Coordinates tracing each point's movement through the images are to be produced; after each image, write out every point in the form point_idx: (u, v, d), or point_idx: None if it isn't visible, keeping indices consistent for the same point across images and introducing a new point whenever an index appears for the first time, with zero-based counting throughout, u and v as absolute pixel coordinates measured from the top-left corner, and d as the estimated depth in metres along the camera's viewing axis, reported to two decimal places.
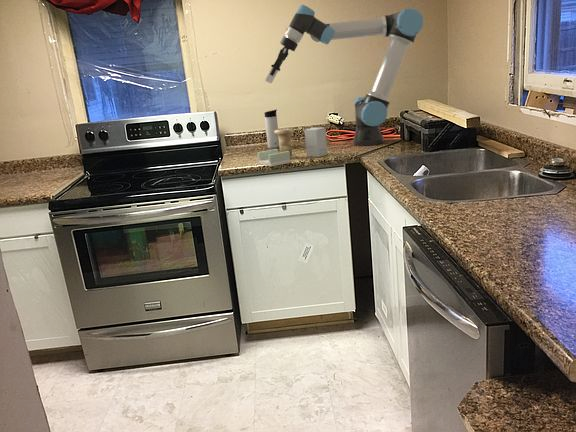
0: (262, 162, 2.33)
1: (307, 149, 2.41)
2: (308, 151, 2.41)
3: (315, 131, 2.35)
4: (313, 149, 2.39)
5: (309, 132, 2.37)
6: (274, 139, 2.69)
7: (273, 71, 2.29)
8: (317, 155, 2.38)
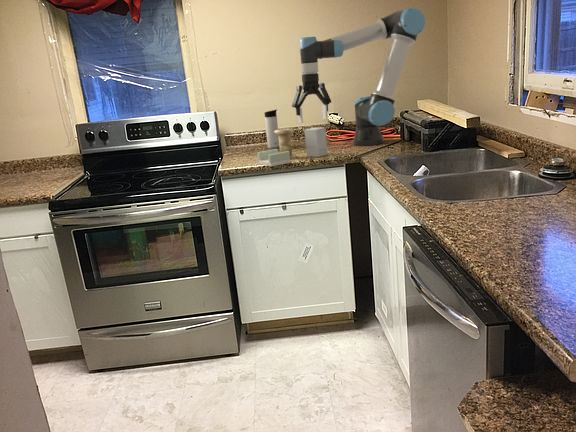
0: (262, 162, 2.33)
1: (307, 149, 2.41)
2: (308, 151, 2.41)
3: (315, 131, 2.35)
4: (313, 149, 2.39)
5: (309, 132, 2.37)
6: (274, 139, 2.69)
7: (296, 111, 2.33)
8: (317, 155, 2.38)
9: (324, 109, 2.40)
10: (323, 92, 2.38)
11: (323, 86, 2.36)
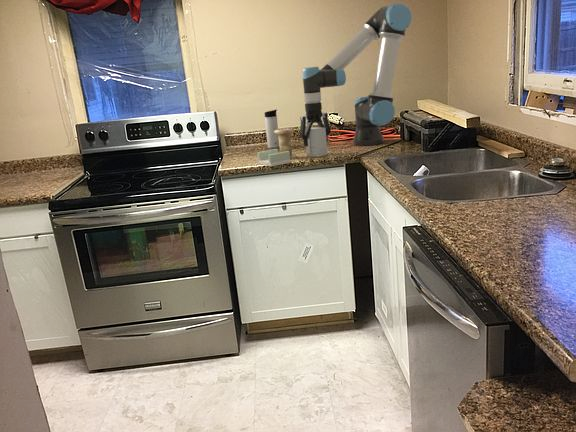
0: (262, 162, 2.33)
1: None
2: None
3: (315, 131, 2.35)
4: (313, 149, 2.39)
5: None
6: (274, 139, 2.69)
7: (304, 142, 2.38)
8: (317, 155, 2.38)
9: None
10: (325, 122, 2.41)
11: (326, 116, 2.39)
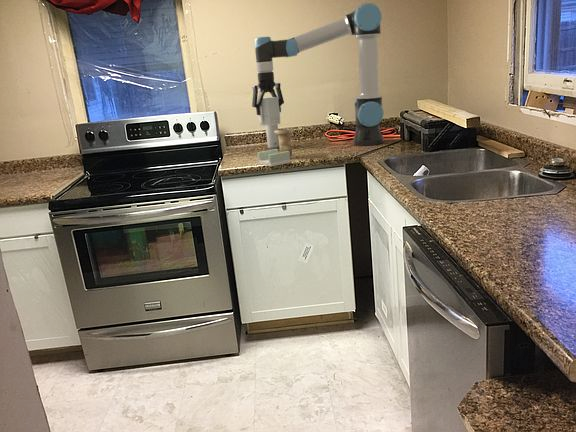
0: (262, 162, 2.33)
1: None
2: None
3: (267, 100, 2.41)
4: (265, 118, 2.44)
5: None
6: (274, 139, 2.69)
7: (257, 111, 2.43)
8: (269, 124, 2.44)
9: None
10: (278, 92, 2.47)
11: (278, 86, 2.45)
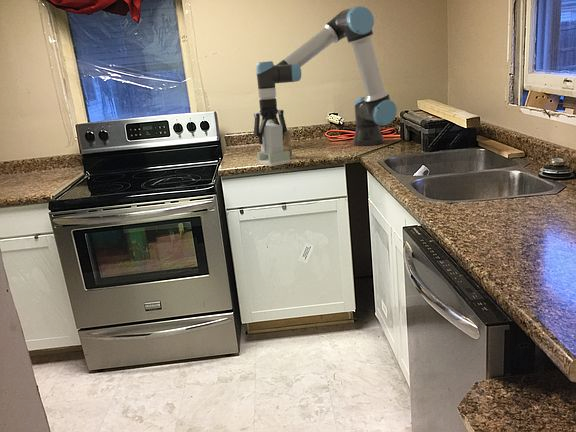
0: (262, 162, 2.33)
1: None
2: None
3: (269, 129, 2.24)
4: (267, 147, 2.29)
5: (264, 129, 2.27)
6: None
7: (259, 140, 2.28)
8: None
9: None
10: (280, 119, 2.31)
11: (281, 113, 2.30)
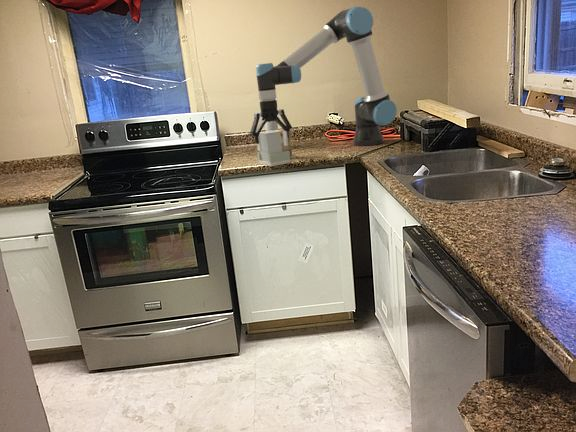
0: (262, 162, 2.33)
1: (261, 153, 2.33)
2: (262, 155, 2.33)
3: (266, 135, 2.26)
4: (265, 153, 2.30)
5: (261, 135, 2.30)
6: None
7: (255, 139, 2.27)
8: (268, 160, 2.29)
9: (285, 136, 2.34)
10: (283, 118, 2.32)
11: (282, 112, 2.30)
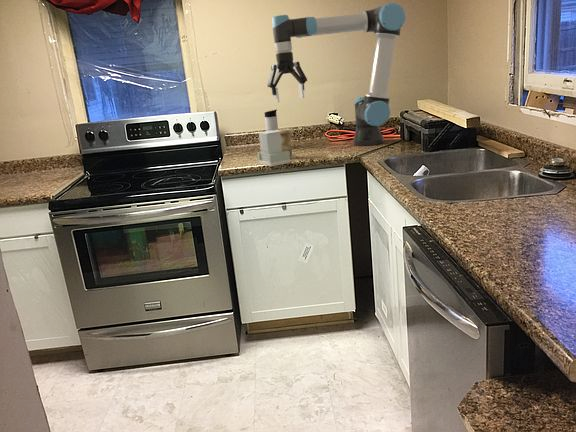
0: (262, 162, 2.33)
1: (261, 153, 2.33)
2: (262, 155, 2.33)
3: (266, 135, 2.26)
4: (265, 153, 2.30)
5: (261, 135, 2.30)
6: None
7: (272, 91, 2.32)
8: (268, 160, 2.29)
9: (300, 88, 2.39)
10: (298, 71, 2.38)
11: (298, 65, 2.36)
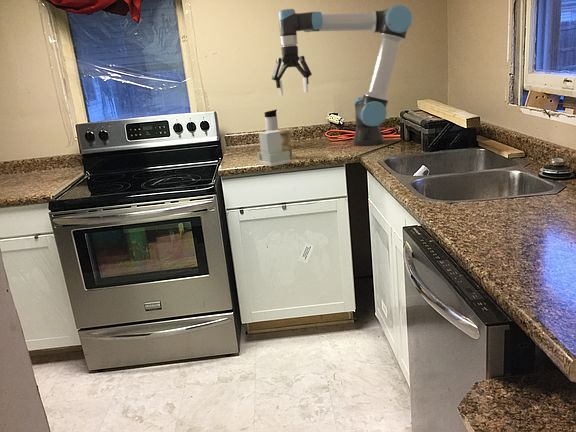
0: (262, 162, 2.33)
1: (261, 153, 2.33)
2: (262, 155, 2.33)
3: (266, 135, 2.26)
4: (265, 153, 2.30)
5: (261, 135, 2.30)
6: None
7: (276, 83, 2.36)
8: (268, 160, 2.29)
9: (304, 82, 2.42)
10: (303, 65, 2.41)
11: (303, 59, 2.39)
